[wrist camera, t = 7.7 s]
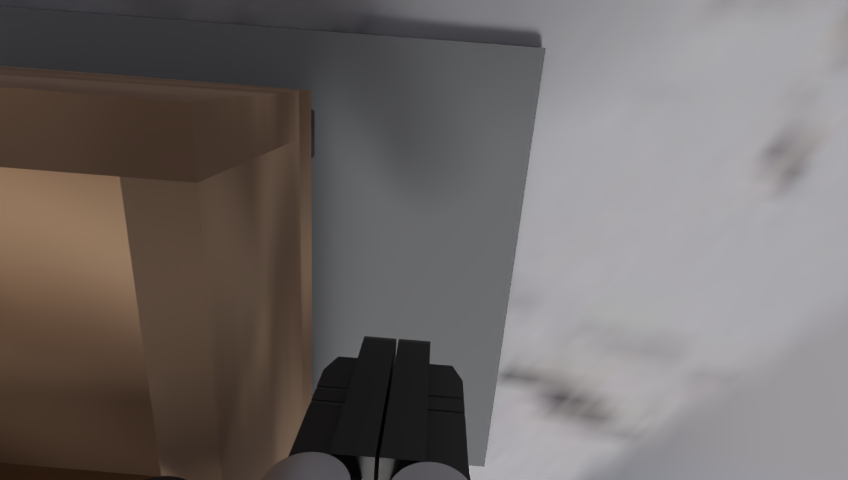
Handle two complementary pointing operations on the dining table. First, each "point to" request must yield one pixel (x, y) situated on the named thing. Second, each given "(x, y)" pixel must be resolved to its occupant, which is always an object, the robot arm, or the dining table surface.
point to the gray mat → (363, 167)
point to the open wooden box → (152, 276)
